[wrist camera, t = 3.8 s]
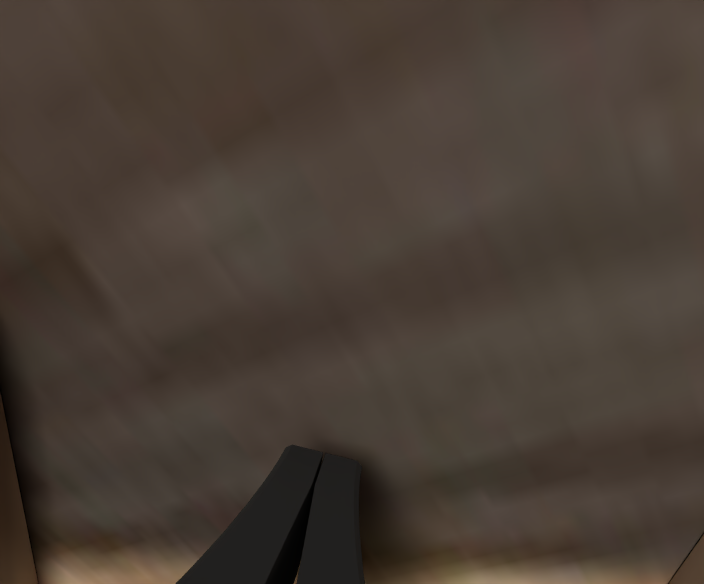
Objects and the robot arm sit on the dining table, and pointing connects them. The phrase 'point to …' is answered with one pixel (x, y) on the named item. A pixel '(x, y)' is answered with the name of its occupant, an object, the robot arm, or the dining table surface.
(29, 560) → the tray
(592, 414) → the dining table surface
